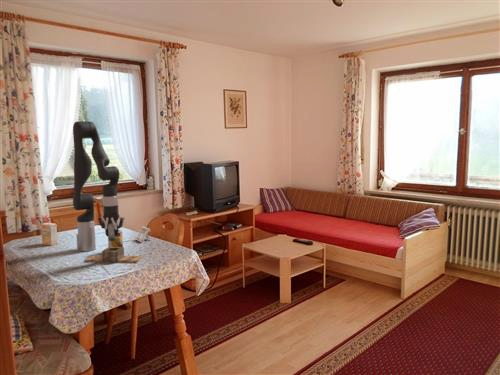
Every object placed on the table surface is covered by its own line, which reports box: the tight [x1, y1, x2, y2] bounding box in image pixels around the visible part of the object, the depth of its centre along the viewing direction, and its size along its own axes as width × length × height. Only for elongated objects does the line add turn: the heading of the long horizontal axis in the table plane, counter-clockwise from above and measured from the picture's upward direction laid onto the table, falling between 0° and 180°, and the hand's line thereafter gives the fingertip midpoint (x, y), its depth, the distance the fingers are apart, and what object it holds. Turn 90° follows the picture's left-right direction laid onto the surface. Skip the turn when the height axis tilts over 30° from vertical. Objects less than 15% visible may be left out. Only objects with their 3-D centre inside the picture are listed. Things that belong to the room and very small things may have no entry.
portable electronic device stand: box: [134, 226, 151, 243], centre depth 248 cm, size 9×8×8 cm
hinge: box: [84, 246, 143, 264], centre depth 209 cm, size 28×8×6 cm, turn 86°
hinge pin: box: [107, 223, 116, 241], centre depth 207 cm, size 4×4×9 cm
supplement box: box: [40, 222, 59, 247], centre depth 241 cm, size 8×5×13 cm, turn 68°
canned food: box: [107, 229, 124, 248], centre depth 223 cm, size 8×8×12 cm
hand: (112, 235), depth 207 cm, fingers closed on hinge pin, 4 cm apart
